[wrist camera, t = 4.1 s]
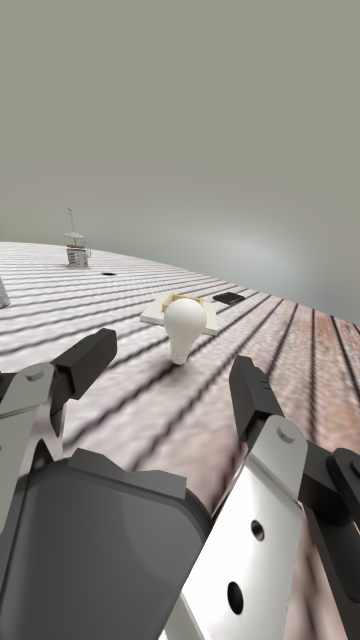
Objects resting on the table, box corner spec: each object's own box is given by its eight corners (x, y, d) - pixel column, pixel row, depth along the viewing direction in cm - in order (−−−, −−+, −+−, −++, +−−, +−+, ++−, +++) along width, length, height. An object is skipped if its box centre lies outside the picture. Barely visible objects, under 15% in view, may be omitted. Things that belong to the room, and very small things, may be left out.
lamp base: (140, 320, 36) (140, 307, 34) (160, 298, 52) (161, 288, 50) (216, 335, 34) (220, 322, 33) (213, 307, 50) (215, 297, 49)
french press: (78, 265, 80) (68, 207, 69) (98, 268, 79) (92, 210, 68) (62, 267, 71) (48, 202, 60) (84, 271, 70) (75, 205, 59)
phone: (245, 297, 65) (230, 303, 54) (244, 299, 65) (229, 306, 55) (229, 291, 69) (211, 296, 59) (228, 294, 70) (211, 299, 59)
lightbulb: (201, 375, 23) (219, 310, 18) (161, 378, 22) (168, 307, 17) (190, 350, 28) (202, 293, 23) (158, 351, 27) (163, 291, 22)
